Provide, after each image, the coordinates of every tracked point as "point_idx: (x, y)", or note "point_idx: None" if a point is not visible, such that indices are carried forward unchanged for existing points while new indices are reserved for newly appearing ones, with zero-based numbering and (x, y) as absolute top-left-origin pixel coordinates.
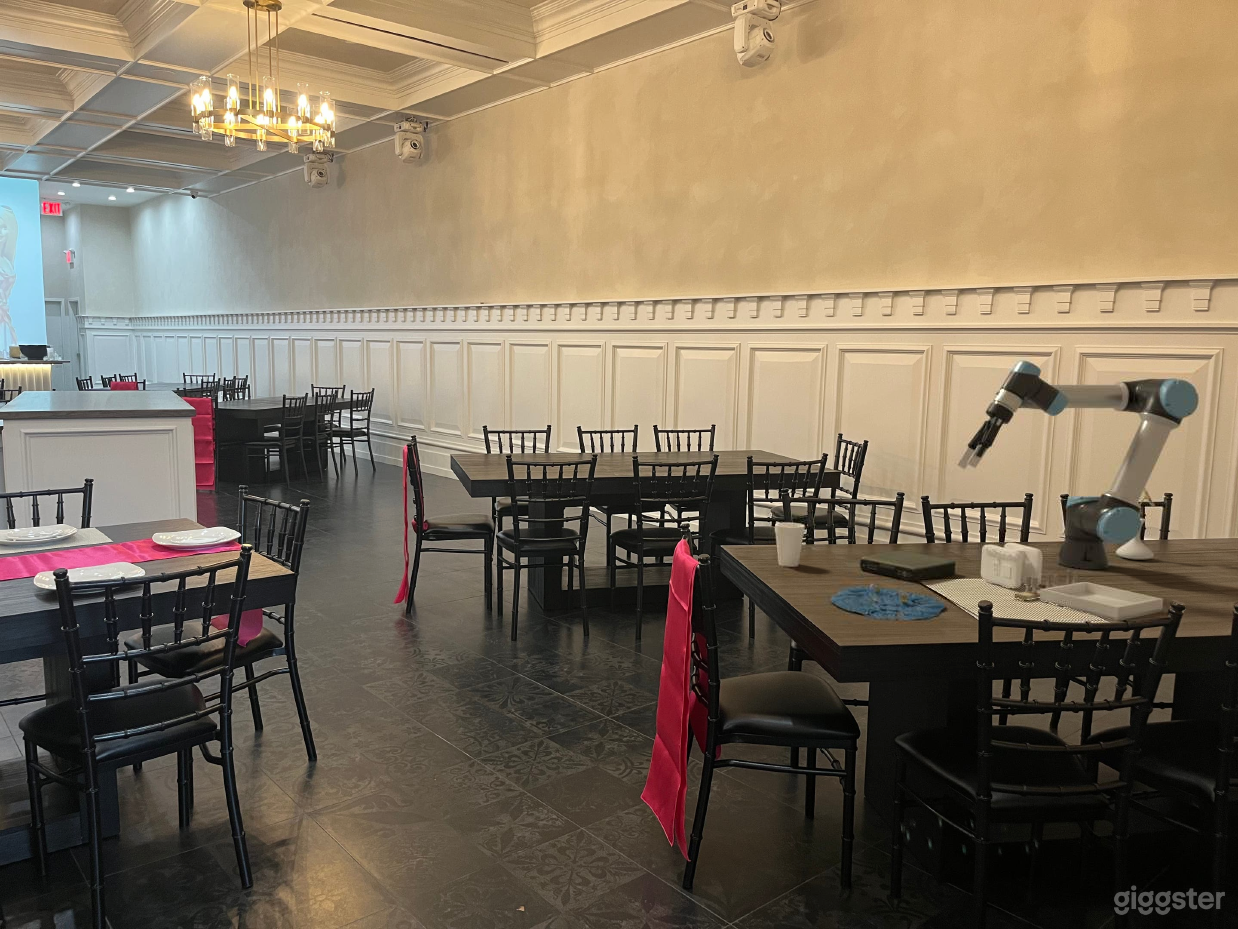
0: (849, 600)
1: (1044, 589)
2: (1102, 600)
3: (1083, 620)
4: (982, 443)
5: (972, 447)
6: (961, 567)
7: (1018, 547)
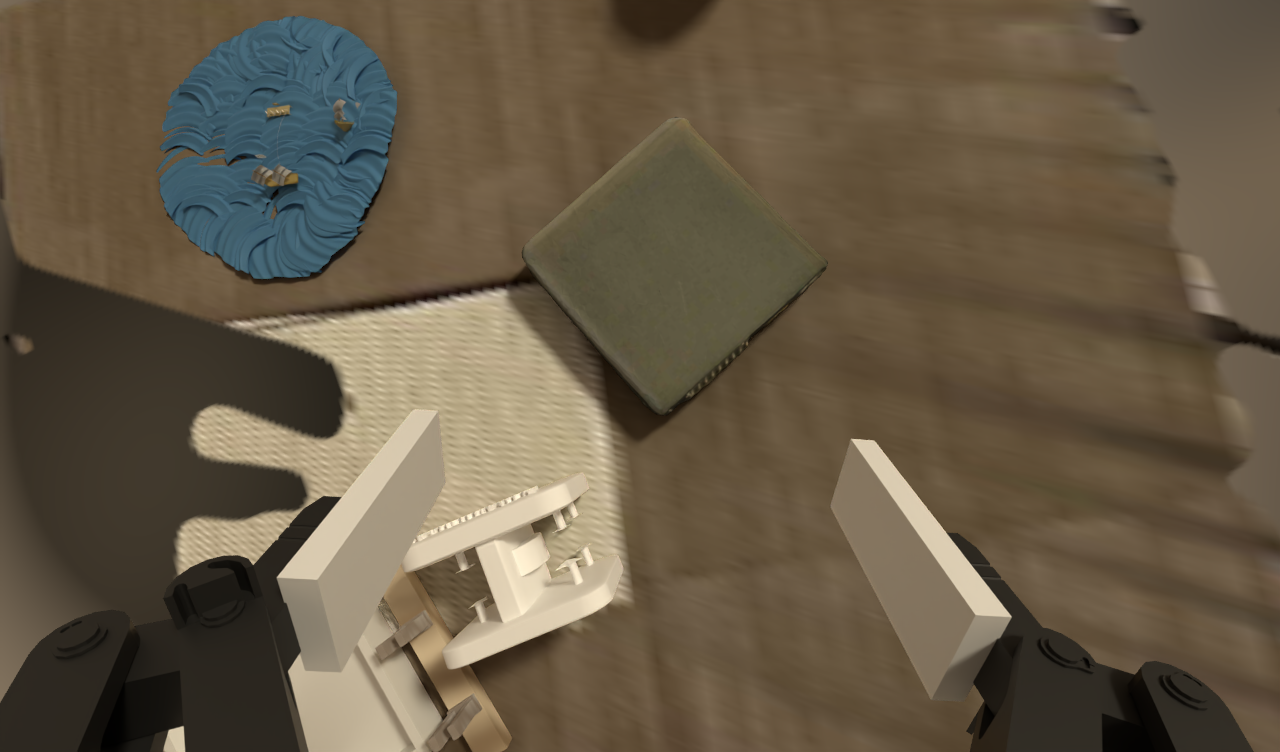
0: (273, 53)
1: None
2: (335, 731)
3: None
4: (189, 620)
5: (1007, 688)
6: (779, 470)
7: (530, 613)
